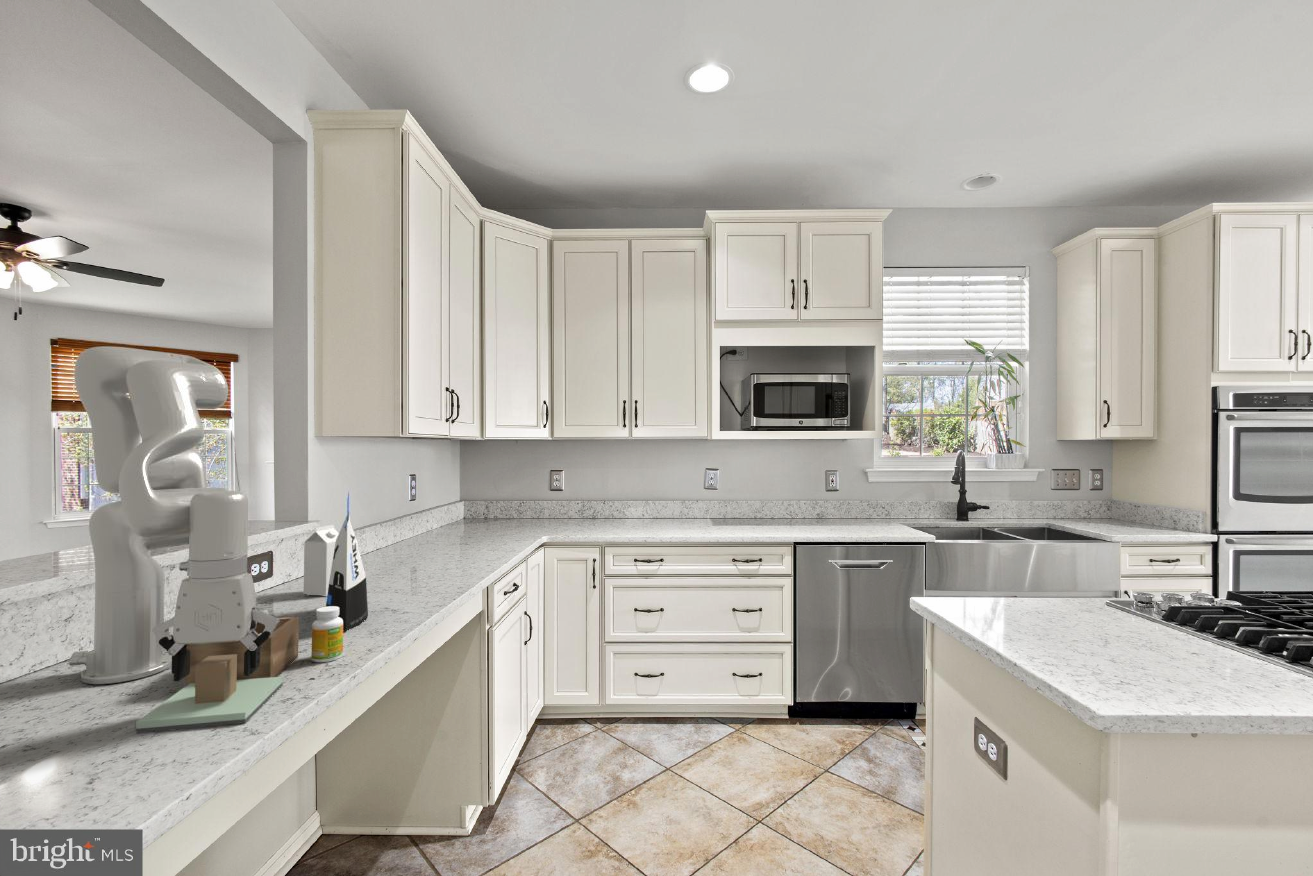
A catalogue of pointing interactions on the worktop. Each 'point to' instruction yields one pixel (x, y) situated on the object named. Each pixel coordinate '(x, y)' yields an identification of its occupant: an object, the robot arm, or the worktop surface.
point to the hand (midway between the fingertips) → (216, 675)
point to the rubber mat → (208, 722)
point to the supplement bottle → (327, 635)
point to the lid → (212, 696)
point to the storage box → (272, 651)
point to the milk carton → (319, 560)
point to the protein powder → (348, 578)
